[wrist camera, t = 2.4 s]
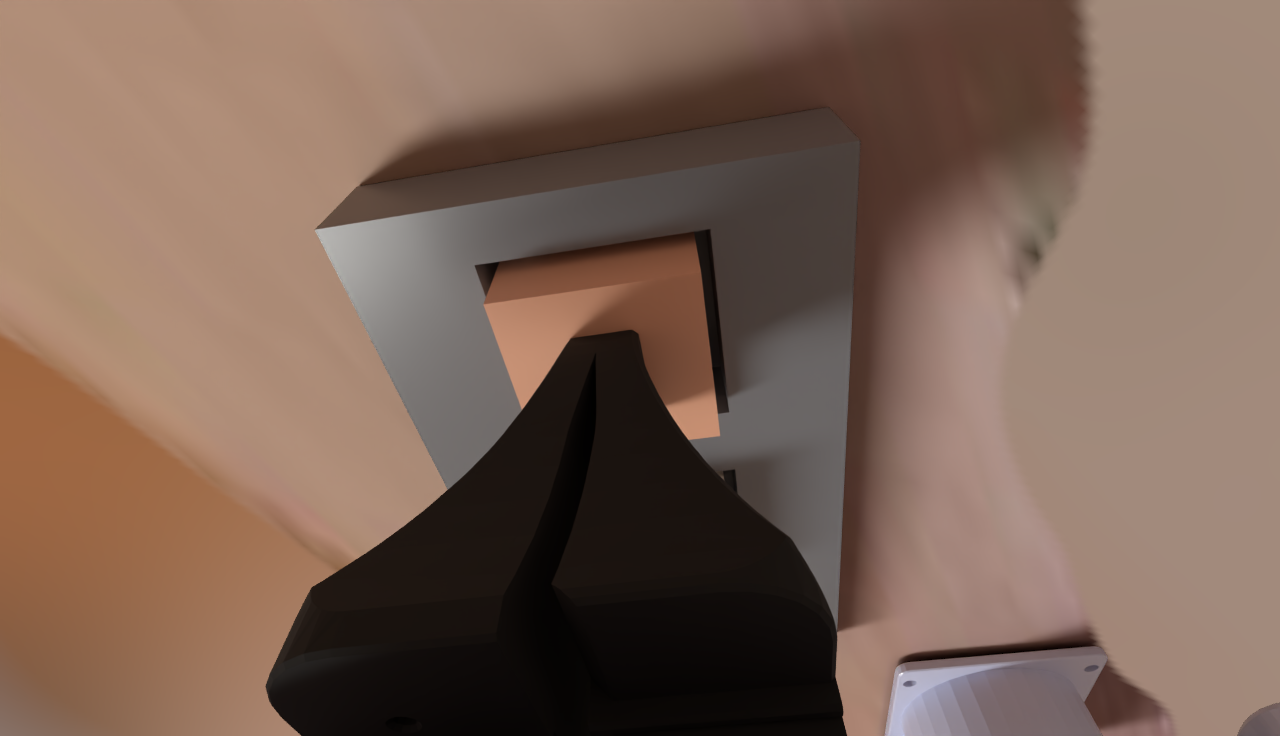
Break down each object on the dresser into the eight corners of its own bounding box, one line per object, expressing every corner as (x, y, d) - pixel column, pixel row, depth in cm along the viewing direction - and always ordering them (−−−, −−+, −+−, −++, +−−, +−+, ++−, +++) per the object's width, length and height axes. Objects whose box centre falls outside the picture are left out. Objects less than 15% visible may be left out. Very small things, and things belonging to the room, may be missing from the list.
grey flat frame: (819, 638, 24) (834, 695, 23) (569, 661, 25) (564, 717, 23) (828, 107, 12) (860, 140, 11) (356, 186, 13) (314, 229, 12)
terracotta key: (709, 369, 15) (720, 435, 13) (551, 389, 16) (539, 458, 14) (691, 217, 13) (700, 272, 11) (505, 246, 13) (483, 304, 11)
